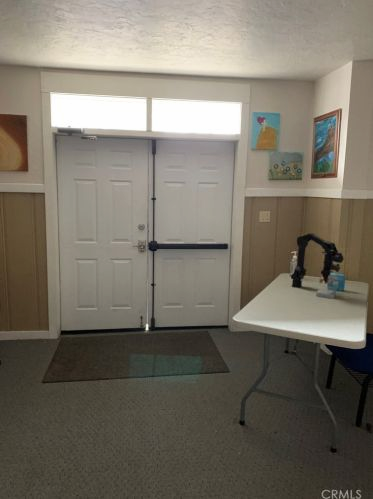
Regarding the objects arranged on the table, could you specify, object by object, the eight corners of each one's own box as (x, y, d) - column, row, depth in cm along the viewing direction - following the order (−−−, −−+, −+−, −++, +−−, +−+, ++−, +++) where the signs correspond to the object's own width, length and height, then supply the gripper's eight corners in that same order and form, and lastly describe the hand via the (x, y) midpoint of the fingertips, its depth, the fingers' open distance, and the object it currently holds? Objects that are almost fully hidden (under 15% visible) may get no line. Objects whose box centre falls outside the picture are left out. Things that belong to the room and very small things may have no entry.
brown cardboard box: (319, 282, 283) (319, 278, 282) (320, 281, 287) (320, 276, 287) (332, 284, 279) (332, 279, 278) (333, 283, 283) (333, 278, 283)
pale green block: (323, 278, 282) (323, 274, 281) (324, 277, 285) (324, 273, 284) (329, 279, 280) (329, 274, 279) (330, 278, 283) (330, 274, 283)
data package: (326, 289, 302) (328, 274, 300) (327, 288, 306) (329, 272, 304) (343, 291, 297) (345, 276, 295) (344, 290, 301) (345, 274, 299)
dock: (316, 296, 283) (316, 290, 282) (318, 292, 291) (318, 287, 291) (333, 298, 277) (334, 293, 277) (335, 295, 286) (336, 290, 285)
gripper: (338, 263, 268) (336, 286, 271) (341, 259, 285) (339, 280, 287) (321, 261, 273) (319, 283, 276) (325, 257, 290) (323, 278, 292)
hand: (326, 281), depth 283 cm, fingers closed on brown cardboard box, 5 cm apart
